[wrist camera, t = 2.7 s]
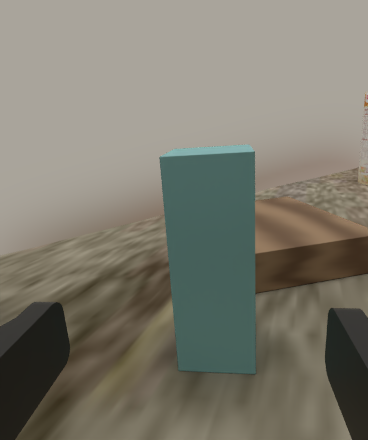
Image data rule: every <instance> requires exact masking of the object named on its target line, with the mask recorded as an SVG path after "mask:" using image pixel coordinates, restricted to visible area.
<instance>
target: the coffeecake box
mask: <svg viewBox="0 0 368 440" xmlns="http://www.w3.org/2000/svg"><path fill="white" fill-rule="evenodd" d="M358 183H359V184H363V185H367V186H368V92H365V104H364V116H363V128H362V139H361V151H360V164H359V174H358Z"/></svg>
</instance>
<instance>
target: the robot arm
mask: <svg viewBox="0 0 368 440" xmlns="http://www.w3.org/2000/svg"><path fill="white" fill-rule="evenodd" d="M69 352H70V344H69V338H68V333H67V327H66V322H65V317H64V311H63V308H62V305H61V304H60V303H58V302H34V303H32V304H31V305H30V306H28V307H27V308H26V309H25V310H24V311H23V312H22V313H21V314H20V315H19V316H17V317H16V318H15V319H13V320H11V321H9V322H7V323H6V324H4V325H2V326H0V440H15V439H16V437H17V436H18V434H19V433H20V432H21V430H22V429H23V427H24V426H25V424H26V423H27V421H28V420H29V418H30V417H31V415H32V414H33V412H34V411H35V409H36V408H37V407H38V405H39V404H40V402H41V401H42V399H43V398H44V396H45V395H46V393H47V392H48V390H49V389H50V387H51V386H52V384H53V383H54V382H55V380H56V379H57V377H58V376H59V374H60V373H61V371H62V370H63V368H64V367H65V365H66V363H67V361H68V357H69ZM325 364H326V371H327V376H328V379H329V382H330V384H331V387H332V389H333V392H334V395H335V397H336V400H337V402H338V405H339V407H340V410H341V412H342V415H343V418H344V420H345V423H346V425H347V428H348V430H349V433H350V435H351V438H352V440H368V318H367V316H366V315H365V313H364V312H363V311H362V310H361V309H350V308H331V309H330V310H329V313H328V323H327V337H326V350H325Z"/></svg>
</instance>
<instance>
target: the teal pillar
mask: <svg viewBox="0 0 368 440" xmlns="http://www.w3.org/2000/svg"><path fill="white" fill-rule="evenodd" d="M160 168H161V179H162V190H163V201H164V212H165V224H166V235H167V246H168V257H169V268H170V280H171V291H172V302H173V313H174V324H175V336H176V347H177V358H178V369H179V371H196V372H218V373H240V374H256V324H255V151H254V150H253V149H252V148H251V146H250V145H234V146H217V147H200V148H184V149H174V150H172V151H170V152H168V153H166V154H164V155H162V156H160Z"/></svg>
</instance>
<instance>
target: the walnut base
mask: <svg viewBox="0 0 368 440" xmlns="http://www.w3.org/2000/svg"><path fill="white" fill-rule="evenodd" d="M365 273H368V228H367V227H365V226H362V225H360V224H357V223H354V222H352V221H349V220H347V219H344V218H342V217H339V216H336V215H334V214H331V213H329V212H326V211H324V210H321V209H318V208H316V207H313V206H311V205H308V204H306V203H303V202H300V201H298V200H295V199H293V198H290V197H281V198H273V199H264V200H256V201H255V293H259V292H265V291H270V290H276V289H282V288H287V287H293V286H298V285H304V284H309V283H315V282H321V281H326V280H332V279H337V278H343V277H349V276H354V275H360V274H365Z"/></svg>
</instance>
